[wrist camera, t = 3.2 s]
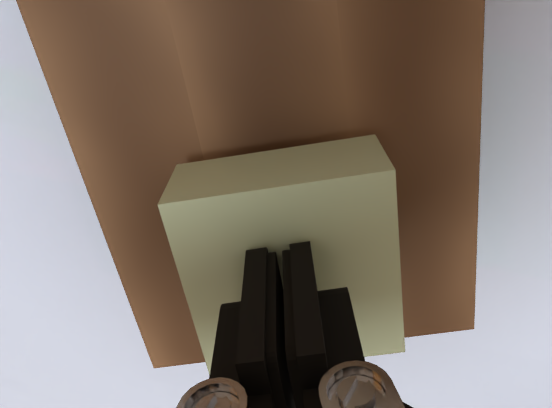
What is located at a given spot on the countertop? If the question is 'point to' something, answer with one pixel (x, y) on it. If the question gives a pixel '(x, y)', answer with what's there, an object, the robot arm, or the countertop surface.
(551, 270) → the countertop surface
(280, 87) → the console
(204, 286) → the pale green block
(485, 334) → the countertop surface
